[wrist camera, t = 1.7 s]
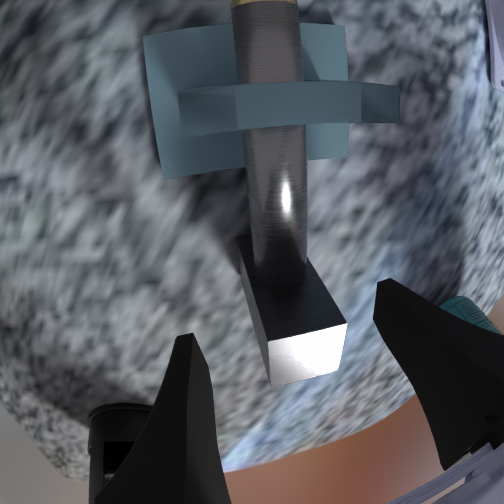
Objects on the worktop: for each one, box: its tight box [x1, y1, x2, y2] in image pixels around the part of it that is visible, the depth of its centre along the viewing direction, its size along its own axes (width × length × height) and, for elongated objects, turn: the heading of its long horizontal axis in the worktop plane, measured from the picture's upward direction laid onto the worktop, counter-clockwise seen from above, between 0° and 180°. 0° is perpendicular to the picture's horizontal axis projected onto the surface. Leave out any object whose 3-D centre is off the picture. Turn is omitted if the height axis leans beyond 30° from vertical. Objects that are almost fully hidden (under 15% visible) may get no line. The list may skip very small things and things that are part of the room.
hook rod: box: [231, 0, 347, 387], centre depth 10 cm, size 13×3×7 cm, turn 4°
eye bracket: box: [143, 23, 400, 180], centre depth 9 cm, size 6×8×6 cm
